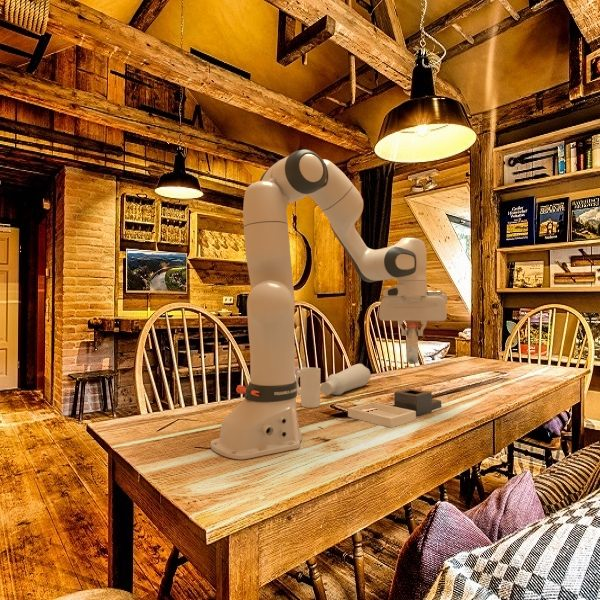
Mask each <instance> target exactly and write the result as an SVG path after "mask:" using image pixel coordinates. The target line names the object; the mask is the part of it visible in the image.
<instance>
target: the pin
mask: <svg viewBox="0 0 600 600" xmlns="http://www.w3.org/2000/svg"><path fill="white" fill-rule="evenodd" d="M405 327H406V329H405V330H407V332H406V333H407V336H405V337H406V344H405V345H406V363H409V364H410V363H411V364H416V363H417V364H418V363H419V336H418V330H419V323H418V322H406V326H405Z"/></svg>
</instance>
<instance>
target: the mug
mask: <svg viewBox="0 0 600 600" xmlns="http://www.w3.org/2000/svg"><path fill="white" fill-rule="evenodd" d="M296 372H297V373H296V374H295V381H296V382H297V396H300V406H301V407H302V408H308V409H310V408H311V409H314V408H319V407H320V406H321V368H320V367H302V368H299V370H297V371H296ZM299 378H300V379H299ZM299 383H300V385H299Z"/></svg>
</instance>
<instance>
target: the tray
mask: <svg viewBox="0 0 600 600" xmlns="http://www.w3.org/2000/svg"><path fill="white" fill-rule="evenodd" d="M370 408H377V410H373V411H369V412H366V411H361V409H370ZM347 417H349V418H352V419H356V420H360V421H363V422H366V423H371V424H374V425H379V426H383V427H385V428H389V429H393V428H396V427H399V426H402V425H404V424H408V423H411V422H415V421H417V417H416V411H413V410H408V409H403V408H399V407H395V405H390V404H384V403H379V402H375V401H372V402H368V403H364V404H363V403H362V404H358V405H355V406H352V407H347Z"/></svg>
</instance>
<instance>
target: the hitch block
mask: <svg viewBox="0 0 600 600" xmlns="http://www.w3.org/2000/svg"><path fill="white" fill-rule="evenodd" d="M432 394H433V392H431V391H425V390H421V389H420V390H419V389H414V388H406V389H401V390H398V391H394V396H393V397H394V398H393V399H394V403H393V404H394V405H393V406H394V407H399V408H403V409H408V410H413V411H416V418H417V417H419V416H420V417H421V416H424V415H426V414H430V413H432V412H433V410H435V409H439V408H441V407H442V400H440V399H435V398H433V395H432Z"/></svg>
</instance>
